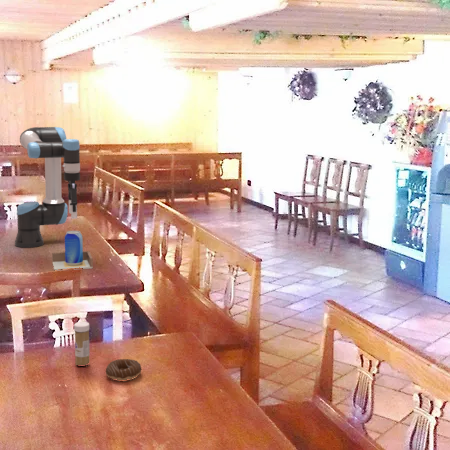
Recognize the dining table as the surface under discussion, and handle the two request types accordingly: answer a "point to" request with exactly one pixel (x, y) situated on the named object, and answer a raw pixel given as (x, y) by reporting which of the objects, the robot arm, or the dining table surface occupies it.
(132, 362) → the donut
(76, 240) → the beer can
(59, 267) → the tray
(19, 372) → the dining table surface
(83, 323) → the sprinkles bottle
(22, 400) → the dining table surface
